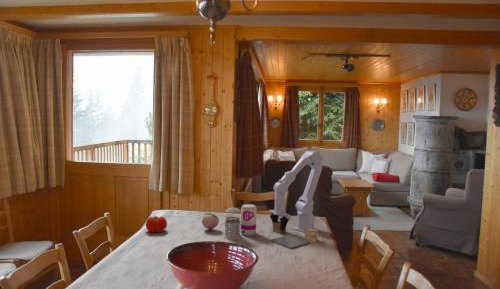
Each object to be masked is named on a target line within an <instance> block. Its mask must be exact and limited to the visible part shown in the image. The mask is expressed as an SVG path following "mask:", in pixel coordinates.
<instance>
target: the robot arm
mask: <svg viewBox="0 0 500 289" xmlns="http://www.w3.org/2000/svg"><path fill="white" fill-rule="evenodd" d="M323 158H324V157H323V156H322V154H321V152H319V151H315V150H310V149H308V150H305V151H304V152H303V153H302V154H301V157H300V158H299V160H298V161H297V162H296V164H295V165H294V166H293V167H292V169H291V170H288V171H286V172H284V175H283V176H282V177H281V179H279V180H278V181H277V182H275V183H274V185H273V187H272V188H273V191H274V209H269V210H268V211H269V212H268V213H269V214H270V215H269V218H270V220H271V221H272V224H273V222H278V221H281V231H284V230H285V228H287V224H288V222H289V221H290V220H291V216H292V215H291V214H289V213H287V212H286V195H287V192H288V191H289V187H290V185H292V183H293V182H295V180H296V176H297V174H299V172H300V171H302V169H303V168H305V166H307V165H308V166H309V167H310V168H311V170H310V173H309V176H308V179H307V182H306V185H305V188H304V191H303V194H302V195H301V196H300V197H299V198H298V200H297V201H296V203H295V209H296V211H297V213H296V214H297V219H296V220H297V221H296V227H293V230H296V231H300V232H303V233H305V231H306V230H307V229H313V230H316V228H315V216H314V214H313V212H314V204H315V203H314V200H313V197H314V194H315V191H316V188H317V185H318V182H319V181H320V180H319V179H320V176H321V174H322V171H323Z"/></svg>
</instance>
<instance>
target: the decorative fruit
mask: <svg viewBox="0 0 500 289" xmlns="http://www.w3.org/2000/svg"><path fill="white" fill-rule="evenodd" d="M201 223H202V224H201V225H202V226H203V227H204V228H205V229H207V230H209V231H211V230H213V229H215V228H216V227H217V226H218V225H219V223H220V218H219V217H218V216H217V214H215V213H211V211H210V212H204V213H203V217H202V218H201Z"/></svg>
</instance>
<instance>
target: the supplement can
mask: <svg viewBox="0 0 500 289" xmlns="http://www.w3.org/2000/svg"><path fill="white" fill-rule="evenodd" d="M240 210H241V212H240V234H241V236H242V235H243V236H249V237H251V236H255V234H257V212H258V211H257V210H258V209H257V207H256V205H255V204H251V203H250V204H249V203H245V204H243V205H242V206H241V208H240Z"/></svg>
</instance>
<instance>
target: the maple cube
mask: <svg viewBox="0 0 500 289" xmlns="http://www.w3.org/2000/svg"><path fill="white" fill-rule="evenodd" d="M318 232H319V231H318V229H314V230H313V229H307V230H306V231H305V232H304V240H307V241H310V243H316V242H317V241H318V237H319V233H318Z"/></svg>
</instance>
